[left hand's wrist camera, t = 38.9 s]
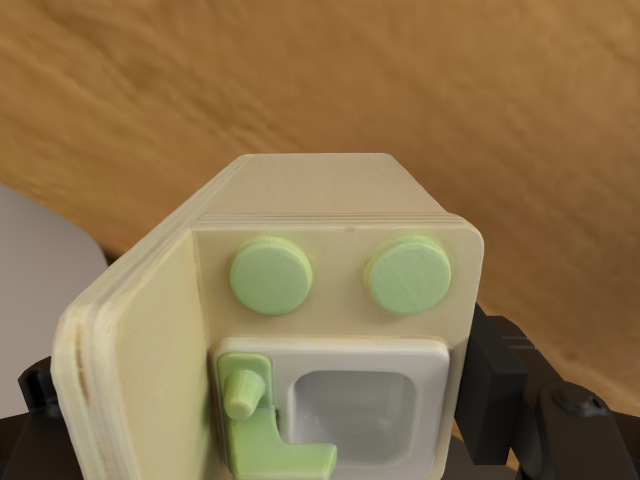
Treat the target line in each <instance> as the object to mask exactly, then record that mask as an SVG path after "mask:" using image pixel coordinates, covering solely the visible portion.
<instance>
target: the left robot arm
mask: <svg viewBox="0 0 640 480" xmlns="http://www.w3.org/2000/svg"><path fill="white" fill-rule="evenodd" d="M50 370H51V356H49V357H47V358H45V359H43V360H41V361H39V362H36V363H35V364H34V365H32V366H31V367H29V368H28V369H27V370H25V371H24V372H23V374H22V375H21V376H20V377H19V378H18V382H19V385H20V388H21V390H22V393H23V396H24V399H25V402H26V404H27V407H28V410H29V412H28V413H24V414H20V415H16V416H11V417H7V418H3V419H0V480H84V478H83V474H82V471H81V468H80V465H79V462H78V459H77V456H76V453H75V450H74V448H73V445H72V442H71V438H70V435H69V432H68V428H67V425H66V422H65V420H64V417H63V415H62V412H61V409H60V406H59V401H58V396H57V392H56V389H55V387H54V384H53V380H52V375H51V371H50ZM454 418H455V421H456V423H457V425H458V428H459V430H460V433H461V435H462V437H463V440H464V442H465V445H466V447H467V450H468V452H469V454H470V457H471V459H472V462H473V464H474V465H506V462H507V458H508V454H509V450H510V446H511V448H512V450H513V452H514V454H515V456H516V457H517V459H518V461H519V463H520V464H519V468H518V471H517V475H516V479H515V480H640V417H636V416H631V415H627V414H623V413H618V412H614V411H611V410H610V409H609V407H608V406H607V404H606V403H605V402H604V401H603V400H602V399H601V398H600V397H598V396H597V395H596V394H595V393H593V392H591V391H589V390H588V389H586V388H584V387H582V386H579V385H576V384H573V383H570V382H566V381H564V380H563V379H562V378H561V377H560V375H559V374H558V373H557V372H556V371H555V370H554V368H553V367H552V366H551V365H550V364H549V363H548V361H547V360H546V359H545V358H544V357H543V355H542V354H541V353H540V352H539V351H538V350H537V349H535V346H534V345H533V344H532V343H531V341H530V340H529V339H527V337H526V335H525V334H524V333H523V332H522V331H521V330H520V328H519V327H518V326H517V325H515V324H514V323H512V322H511V321H509V320H508V319H506V318H504V317H503V316H486V314H485V313H484V312H483V310H482V309H481V308H480V306H479V305H478V304H477V302H475V308H474V314H473V319H472V324H471V329H470V334H469V339H468V345H467V350H466V355H465V360H464V366H463V371H462V377H461V381H460V385H459V392H458V398H457V404H456V409H455V414H454Z"/></svg>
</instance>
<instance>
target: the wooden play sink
mask: <svg viewBox="0 0 640 480" xmlns="http://www.w3.org/2000/svg"><path fill="white" fill-rule="evenodd" d="M483 256H484V241H483V238H482V236H481V234H480V232H479V231H478V229H476V228H475V227H474V226H473V225H472V224H470V223H469V222H468V221H467V220H465V219H464V218H462V217H460V216H458V215H456V214H452V213H448V212H446V211H445V210H444V209H443V208H442V207H441V206H440V205H439V204H438V203H437V202H436V201H435V200H434V199H433V198H432V197H431V196H430V195H429V194H428V193H427V192H426V191H425V189H424V188H423V187H422V186H421V185H420V184H419V183H418V182H417V181H416V180H415V179H414V178H413V177H412V176H411V175H410V174H409V173H408V172H407V171H406V170H405V169H404V168H403V167H402V166H401V165H400V164H399V163H398V162H397V161H396V160H395V159H394V158H393V157H392V156H391V155H389V154H385V153H309V154H247V155H242V156H240V157H238V158H237V159H235V160H234V161H233V162H232V163H231V164H229V165H228V166H227V167H226V168H224V169H223V170H222V171H221V172H220V173H218V174H217V175H216V176H215V177H214V178H212V179H211V180H210V181H209V182H208V183H206V184H205V185H204V186H203V187H202V188H201V189H199V190H198V191H197V192H196V193H194V194H193V195H192V196H191V197H190V198H189V199H188V200H186V201H185V202H184V203H183V204H182V205H181V206H179V207H178V208H177V209H176V210H175V211H173V212H172V213H171V214H170V215H169V216H168V217H167V218H165V219H164V220H163V221H162V222H161V223H160V224H158V225H157V226H156V227H155V228H154V229H153V230H151V231H150V232H149V233H148V234H147V235H146V236H144V237H143V238H142V239H141V240H140V241H139V242H137V243H136V244H135V245H134V246H133V247H132V248H131V249H130V250H129V251H128V252H126V253H125V254H124V255H123V256H121V257H120V258H119V259H118V260H117V261H116V262H114V263H113V264H112V265H111V266H110V267H109V268H108V269H107V270H106V271H104V272H103V273H102V274H101V275H100V276H99V277H98V278H96V279H95V280H94V281H93V282H92V283H91V284H90V285H89V286H88V287H87V288H86V289H84V290H83V291H82V292H81V293H80V294H79V295H78V296H77V297H76V298H75V299H74V300H73V301H72V302H71V303H70V304H69V305H68V306H67V307H66V308H65V310H64V311H63V313H62V314H61V316H60V317H59V320H58V324H57V328H56V332H55V335H54V339H53V343H52V356H51V370H50V371H51V375H52V380H53V384H54V387H55V389H56V392H57V396H58V401H59V406H60V409H61V412H62V415H63V417H64V420H65V422H66V425H67V428H68V432H69V435H70V438H71V442H72V445H73V448H74V450H75V453H76V456H77V459H78V462H79V465H80V468H81V471H82V474H83V478H84V480H440V479H441V477H442V476H443V473H444V469H445V464H446V459H447V453H448V448H449V442H450V436H451V431H452V426H453V421H454V414H455V409H456V404H457V398H458V392H459V385H460V381H461V377H462V371H463V366H464V360H465V355H466V350H467V345H468V339H469V334H470V329H471V324H472V319H473V314H474V308H475V302H476V297H477V292H478V287H479V281H480V276H481V269H482V262H483Z"/></svg>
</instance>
